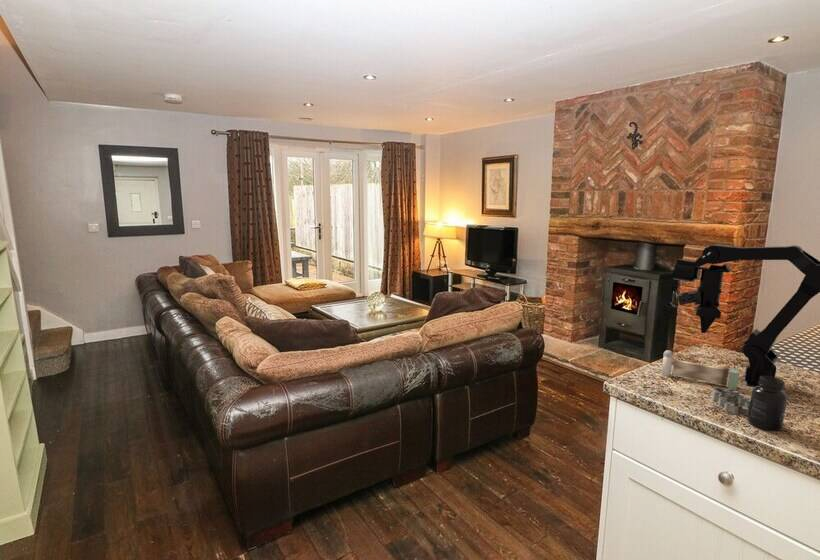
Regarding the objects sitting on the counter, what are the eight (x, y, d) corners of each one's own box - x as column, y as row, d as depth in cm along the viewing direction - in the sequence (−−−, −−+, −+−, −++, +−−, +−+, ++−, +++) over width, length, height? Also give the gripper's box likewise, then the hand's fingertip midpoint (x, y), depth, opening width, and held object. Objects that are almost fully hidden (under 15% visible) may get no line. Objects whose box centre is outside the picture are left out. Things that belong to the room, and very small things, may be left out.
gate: (672, 375, 142) (674, 359, 141) (672, 373, 143) (674, 357, 142) (726, 385, 134) (728, 369, 133) (726, 383, 136) (728, 367, 135)
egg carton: (757, 418, 117) (760, 403, 116) (724, 414, 119) (726, 399, 118) (739, 399, 127) (741, 386, 126) (708, 396, 129) (710, 382, 128)
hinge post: (670, 374, 144) (673, 350, 143) (670, 376, 142) (673, 352, 140) (661, 372, 145) (664, 348, 144) (660, 375, 143) (663, 350, 142)
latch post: (735, 386, 136) (738, 369, 135) (736, 390, 133) (738, 373, 132) (727, 384, 137) (730, 368, 136) (727, 388, 134) (730, 371, 133)
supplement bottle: (788, 433, 109) (797, 386, 107) (755, 430, 110) (763, 383, 108) (772, 420, 116) (780, 374, 113) (741, 417, 117) (748, 372, 115)
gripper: (680, 277, 155) (674, 321, 158) (680, 286, 139) (673, 336, 142) (720, 280, 149) (712, 327, 153) (724, 291, 134) (716, 342, 137)
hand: (703, 332), depth 146 cm, fingers closed
